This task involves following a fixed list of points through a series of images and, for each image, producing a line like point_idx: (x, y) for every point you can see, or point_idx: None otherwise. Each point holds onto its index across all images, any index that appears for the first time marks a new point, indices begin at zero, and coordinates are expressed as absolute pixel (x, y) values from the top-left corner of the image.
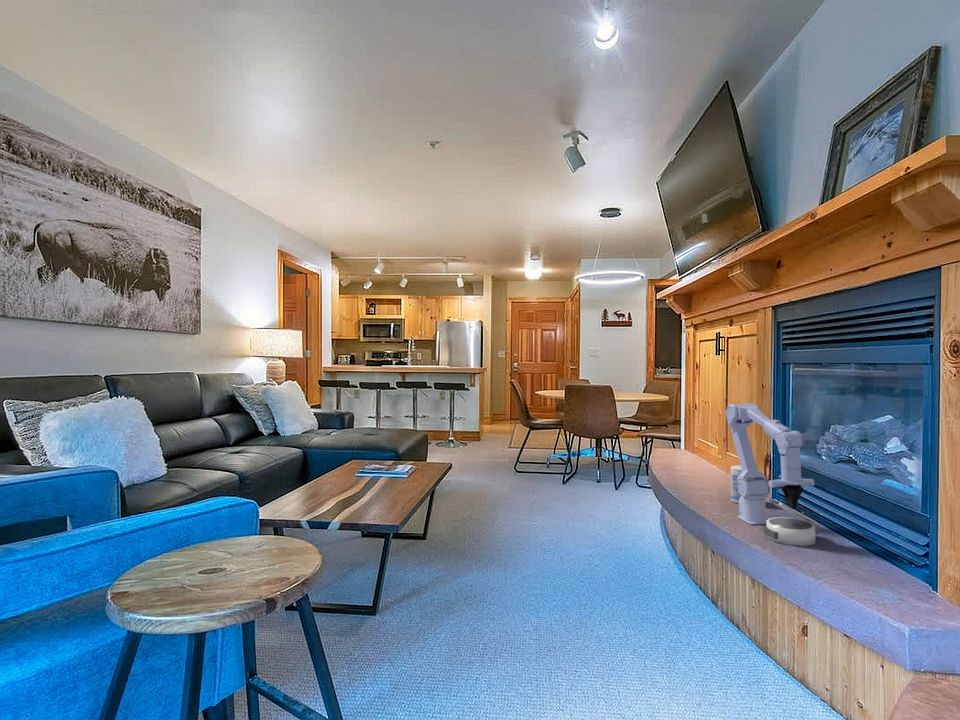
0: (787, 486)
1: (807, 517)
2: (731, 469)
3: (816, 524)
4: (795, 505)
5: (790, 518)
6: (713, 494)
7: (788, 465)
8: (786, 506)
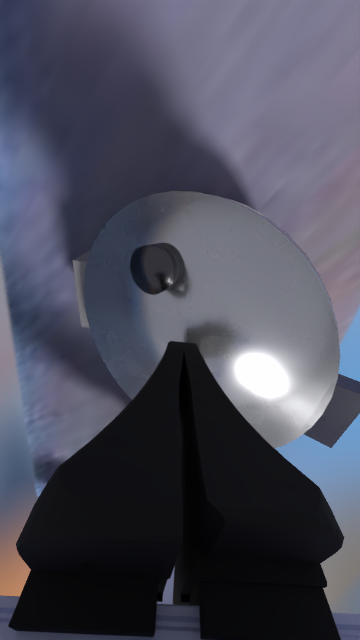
0: (294, 611)
1: (196, 192)
2: None
3: (79, 274)
4: (178, 350)
5: None
6: None
7: None
8: (331, 312)
